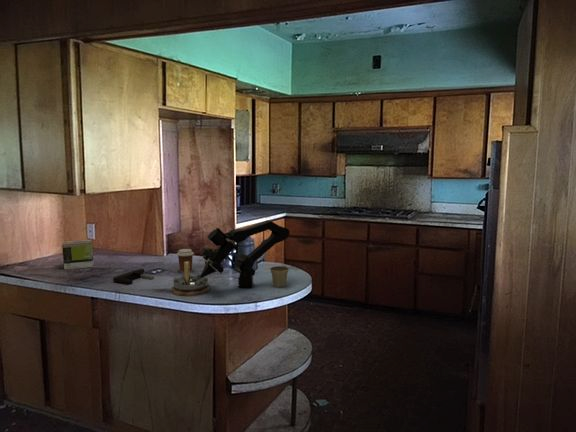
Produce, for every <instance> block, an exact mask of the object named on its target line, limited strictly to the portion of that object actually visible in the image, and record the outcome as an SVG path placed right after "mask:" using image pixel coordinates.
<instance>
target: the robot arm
mask: <svg viewBox="0 0 576 432" xmlns="http://www.w3.org/2000/svg"><path fill="white" fill-rule="evenodd" d="M266 231H270V235H269V236H268V238H266V239H265V240H264V241H263V242H262V243H261V244H259V245H258V246H257V247H256V248H254V250H252V251H250V252H249V254H245V253H241V255H239V257H237V258H236V260H235V261H234V268H235V270H236V271H237V272H238V273H239V276H238V277H237V278H238V279H237V280H238V288H243V289H252V288H253V287H254V285H255V283H254V276H255V275H256V270H255V269H254V268H253V266H254V264H255V263H256V262H257V260H259V259H260V258H261V257H262V256H263V255H264V254H266V253H267V252H269V250H270V249H271V248H272V247H274V246H275V245H276V244H278V243H281V242H284V241H285V240H287V239H288V238H290V230H289V228H287V227H285V226H281V225H279V224H277V223H275V222H274V221H272V220H265V221H262V222H259V223H257V224H253V225H251V226H248V227H243V228H242V227H240V228H233V229H231V230H229V231H227V232H223V231H222V230H221V229H220V228H219V227H216V228H215V229H213V230H212V231H210V233H208V235H207V239H208V240H209V241H210V242H211V243H212V244H214V245H215V246H216V247H218V246H219V247H218V248H214V249H213V248H210V247H209V248H207V247H205V246H202V248H201V251H200V254H201V255H202V258H203V259H204V267H203V269H202V271H201V273H200V274H201V275H200V277H201V278H203V277H208V276H209V275H211V274H213V273H214V274H215V273H216V272H218V273H220V274H222V273H223V272H224V271H225V270H224V269H225V268H224V266H223V265H222V264H223V262H224V260H227V259H228V256H229V255H230V254H231V253H232V251H233V250H235V251H237V252H238V251H239V245H238V244H239V243H242V242H244V241H246V240H247V239H248V238H249V237H252V236H254V235H257V234H260V233H263V232H266ZM228 240H229V241H228Z"/></svg>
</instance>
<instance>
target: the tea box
mask: <svg viewBox="0 0 576 432" xmlns="http://www.w3.org/2000/svg"><path fill="white" fill-rule="evenodd" d="M61 248H62V260H63V267H64V268H63V269H64V270H72V269H75V270H77V269H83V268H84V269H85V268H93V267H94V263H95V262H94V261H95V260H94V251H93V240H92V239H82V240H70V241H69V240H68V241H67V240H66V241H63V243H62V244H61Z"/></svg>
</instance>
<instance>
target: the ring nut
mask: <svg viewBox="0 0 576 432" xmlns="http://www.w3.org/2000/svg"><path fill="white" fill-rule="evenodd" d="M200 275H201V273H198V274H196V275H191V272H190V264H189V261H185V262H184V273H183V274H182V275H181V277H179V278H177V277H174V278H173V280H172V281H173V286H174V289H175V290H178V291H184V292H191V291H199V290H203V289H205V288H207V287H208V284H209V277H208V276H205V277H203V278H201V277H200Z"/></svg>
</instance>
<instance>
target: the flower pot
mask: <svg viewBox="0 0 576 432" xmlns="http://www.w3.org/2000/svg"><path fill="white" fill-rule="evenodd" d="M269 270H270V273H271V277H272V278H271V279H272V285H273V287H276V288H284V287H286V285H287V279H288V273H289V270H290V268H289V267H288V266H284V265H283V266H282V265H279V266H278V265H276V266H275V265H274V266H272V267H270V268H269Z"/></svg>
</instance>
